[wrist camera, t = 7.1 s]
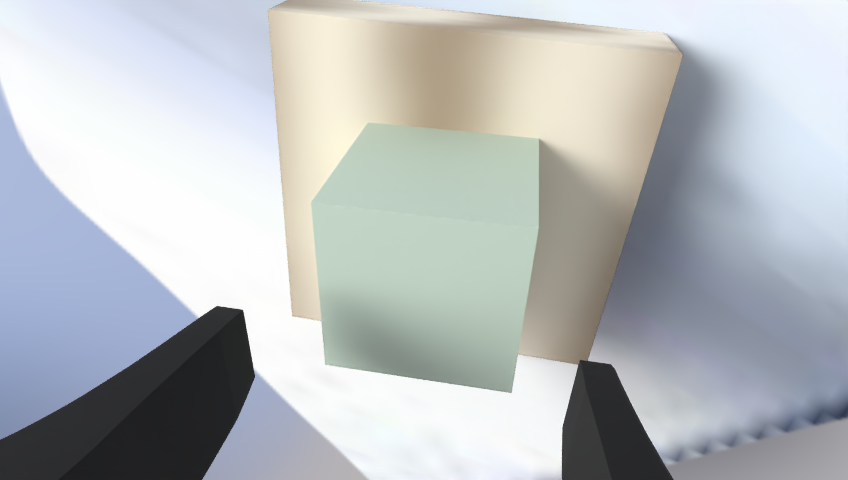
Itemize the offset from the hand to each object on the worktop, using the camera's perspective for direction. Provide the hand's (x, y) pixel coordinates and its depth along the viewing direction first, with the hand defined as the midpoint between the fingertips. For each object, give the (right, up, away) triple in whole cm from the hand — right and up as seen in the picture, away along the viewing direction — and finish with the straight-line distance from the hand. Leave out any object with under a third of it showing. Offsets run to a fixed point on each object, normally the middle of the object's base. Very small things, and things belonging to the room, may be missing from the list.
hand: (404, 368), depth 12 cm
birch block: (+2, +5, +8) cm, 10 cm away
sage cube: (+1, +4, +6) cm, 7 cm away
